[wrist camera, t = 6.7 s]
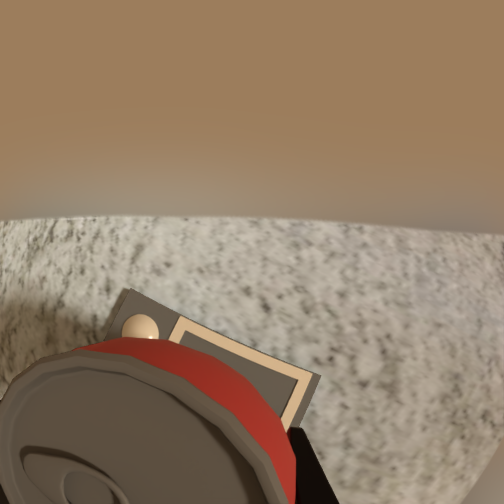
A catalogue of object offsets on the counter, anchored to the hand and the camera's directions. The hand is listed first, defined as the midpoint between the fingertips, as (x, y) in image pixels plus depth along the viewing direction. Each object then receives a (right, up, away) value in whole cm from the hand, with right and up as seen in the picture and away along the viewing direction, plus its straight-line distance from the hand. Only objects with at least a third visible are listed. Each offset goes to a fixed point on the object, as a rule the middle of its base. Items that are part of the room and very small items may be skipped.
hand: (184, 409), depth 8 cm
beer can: (-1, -4, +6) cm, 7 cm away
